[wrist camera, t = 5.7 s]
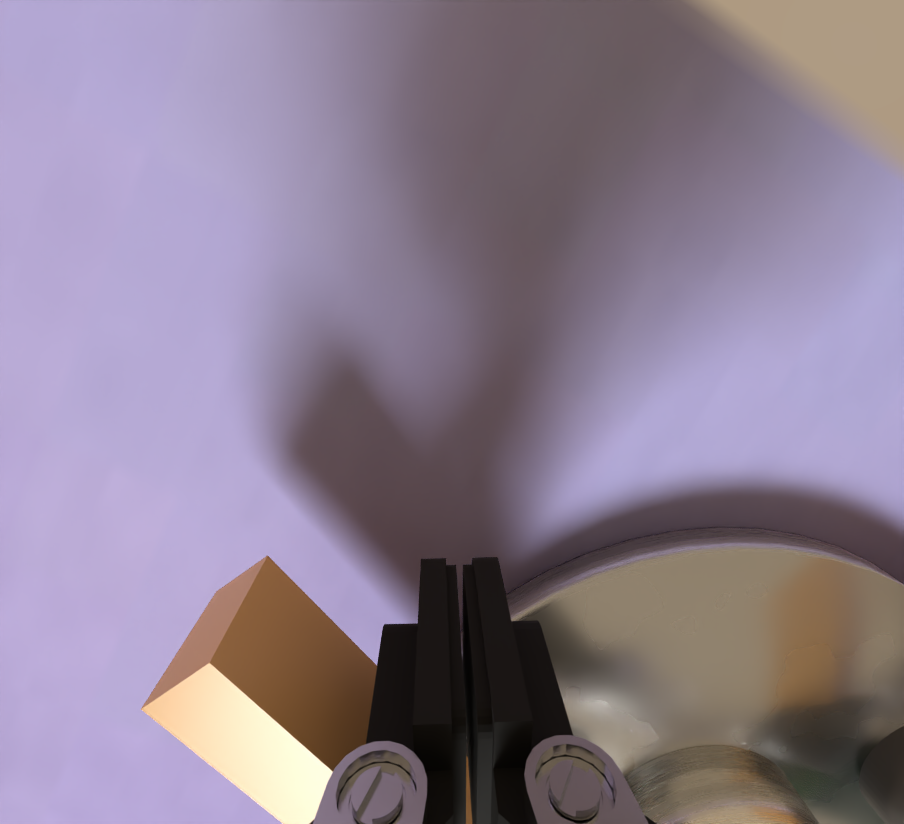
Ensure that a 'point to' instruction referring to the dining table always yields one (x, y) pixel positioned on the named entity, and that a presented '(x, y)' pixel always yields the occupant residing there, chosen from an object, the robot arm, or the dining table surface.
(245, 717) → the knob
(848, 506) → the dining table surface
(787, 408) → the dining table surface
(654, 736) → the level plate
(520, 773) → the robot arm
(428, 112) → the dining table surface
